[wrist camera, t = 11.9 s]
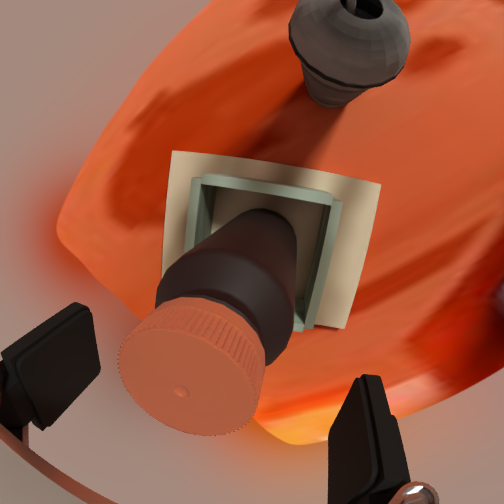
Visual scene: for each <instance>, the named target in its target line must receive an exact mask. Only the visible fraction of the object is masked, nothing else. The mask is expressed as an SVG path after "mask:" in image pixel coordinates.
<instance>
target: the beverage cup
mask: <svg viewBox="0 0 504 504" xmlns="http://www.w3.org/2000/svg"><path fill="white" fill-rule="evenodd" d="M288 25H289V40H290V43H291V45H292V47H293V50H294V52H295V54H296V55H297V57H298V58H299V59H300V61H301V66H302V71H303V76H304V80H305V85H306V87H307V90H308V93H309V95H310V97H311V98H312V99H313V100H314V101H315V102H316V103H318V104H319V105H321V106H324V107H326V108H338V107H342V106H343V105H345V104H347V103H349V102H351V101H352V100H353V99H355V98H356V97H358V96H359V95H361V94H362V93H363V92H365V91H366V90H368V89H370V88H373V87H379V86H382V85H384V84H386V83H388V82H389V81H391V80H393V79H395V78H396V76H397V75H398V74H399V73H400V71H401V70H402V69H403V68H404V64H405V61H406V59H407V56H408V52H409V47H410V43H411V39H410V32H409V27H408V23H407V20H406V18H405V16H404V15H403V13H402V11H401V9H400V8H399V6H398V5H397V4H396V3H395V2H394V1H393V0H299V1H298V3H297V5H296V8H295V10H294V12H293V15H292V17H291V19H290V22H289V24H288Z"/></svg>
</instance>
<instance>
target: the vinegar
mask: <svg viewBox="0 0 504 504" xmlns="http://www.w3.org/2000/svg"><path fill="white" fill-rule="evenodd" d="M296 262H297V238H296V235H295V232H294V230H293V227H292V226H291V224H290V223H289V222H288V221H287V219H286V218H285V217H283V216H282V215H280V214H279V213H277V212H276V211H272V210H269V209H265V208H256V209H250V210H248V211H245V212H242V213H241V214H239V215H238V216H236V217H235V218H234V219H232V220H231V221H229V222H228V223H226V224H225V225H224V226H222V227H221V228H219V229H218V230H217V231H215V232H214V233H213V234H211V235H210V236H208V237H207V238H206V239H204V240H203V241H201V242H200V243H199V244H197V245H196V246H195V247H193V248H192V249H191V250H189V251H188V252H186V253H185V254H184V255H182V256H181V257H180V258H179V259H178V260H177V261H176V262H174V263H173V264H172V265H171V266H170V267H169V268H168V269H167V270H166V272H165V274H164V275H163V277H162V279H161V281H160V283H159V285H158V287H157V294H156V303H155V310H154V311H152V312H151V313H150V314H149V315H148V316H147V317H146V318H145V319H144V320H143V321H142V322H141V323H140V324H139V325H138V326H137V328H135V329H134V330H133V331H132V332H131V333H130V334H129V335H128V336H127V337H126V338H125V339H124V341H123V343H122V345H121V346H120V348H121V349H120V350H119V352H120V353H119V354H118V356H119V358H118V360H119V362H118V365H119V367H118V369H119V373H120V374H121V378H122V380H123V382H124V385H125V388H126V389H127V391H128V392H129V393H130V395H131V396H132V397H133V399H134V400H135V402H136V403H137V404H138V405H139V406H140V407H142V408H143V409H144V410H145V411H146V412H147V413H148V414H149V415H151V416H152V417H154V418H155V419H157V420H158V421H160V422H162V423H163V424H165V425H167V426H169V427H172V428H174V429H177V430H180V431H182V432H185V433H190V434H194V435H195V434H196V435H202V436H212V435H215V436H216V435H223V434H226V433H230V432H232V431H233V432H234V431H235V430H239V428H240V427H243V424H244V425H246V422H249V420H250V419H252V415H254V413H255V412H256V408H257V405H258V400H259V395H260V391H261V386H262V381H263V377H264V372H265V367H266V366H268V365H270V364H272V363H273V362H274V361H275V359H276V358H277V357H278V356H279V355H280V354H281V353H282V352H283V351H284V350H285V348H286V346H287V344H288V341H289V339H290V336H291V334H292V331H293V328H294V311H295V289H296Z"/></svg>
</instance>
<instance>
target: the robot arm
mask: <svg viewBox="0 0 504 504" xmlns="http://www.w3.org/2000/svg"><path fill="white" fill-rule="evenodd" d="M1 355H2V358H3V360H2V361H0V504H117V503H115V502H113V501H111V500H109V499H107V498H105V497H103V496H101V495H100V494H98V493H96V492H94V491H92V490H91V489H89V488H87V487H85V486H84V485H82V484H80V483H78V482H77V481H75V480H74V479H72V478H70V477H69V476H67V475H66V474H64V473H63V472H61V471H60V470H58V469H57V468H55V467H54V466H52V465H51V464H49V463H48V462H47V461H45V460H44V459H43V458H41V457H40V456H38V455H37V454H36V453H35V452H33V451H32V450H31V449H30V448H29V440H28V438H29V437H28V423H29V422H30V421H32V423H33V424H34V425H35V426H36V427H38V428H39V429H40V430H42V431H43V430H44V429H45V428H46V427H49V426H51V425H52V424H53V423H54V422H55V421H56V420H57V419H58V418H59V417H60V416H61V414H62V413H63V412H64V411H65V410H66V409H67V408H68V407H69V406H70V405H71V404H72V402H73V401H74V400H75V399H76V398H77V397H78V396H79V395H80V394H81V393H82V392H83V391H84V390H85V388H86V387H87V386H88V385H89V384H90V383H91V382H92V381H93V380H94V379H95V378H96V377H97V376H98V375H99V373H100V370H101V366H100V361H99V355H98V350H97V344H96V338H95V331H94V324H93V316H92V313H91V312H90V309H89V308H88V307H87V306H85V305H82V304H80V303H77V302H74V303H72V304H70V305H69V306H67V307H66V308H64V309H63V310H61V311H60V312H58V313H57V314H55V315H54V316H52V317H51V318H49V319H48V320H46V321H45V322H43V323H42V324H40V325H39V326H37V327H36V328H34V329H33V330H32V331H30V332H29V333H27V334H26V335H24V336H23V337H21V338H20V339H19V340H17V341H16V342H14V343H13V344H12V345H10V346H9V347H7V348H6V349H5V350H3V351H2V352H1ZM328 504H439V497H438V493H437V492H436V491H435V489H434V488H433V487H432V486H430V485H429V484H426V483H424V482H417V481H416V482H411V480H410V475H409V470H408V466H407V462H406V457H405V452H404V448H403V443H402V440H401V435H400V431H399V427H398V423H397V420H396V418H395V416H394V415H391V413H390V409H389V405H388V401H387V398H386V394H385V390H384V387H383V383H382V380H381V377H380V376H378V375H368V374H363V375H362V376H361V377H360V378H356V379H355V380H354V382H353V384H352V387H351V389H350V391H349V393H348V395H347V397H346V399H345V401H344V403H343V405H342V407H341V409H340V411H339V413H338V415H337V417H336V419H335V421H334V423H333V424H332V426H331V428H330V431H329V435H328Z"/></svg>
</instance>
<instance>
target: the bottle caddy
mask: <svg viewBox="0 0 504 504" xmlns="http://www.w3.org/2000/svg"><path fill="white" fill-rule="evenodd" d="M380 188H381V184H377V183H373V182H369V181H365V180H360V179H356V178H352V177H347V176H343V175H338V174H333V173H328V172H324V171H319V170H313V169H308V168H303V167H297V166H291V165H286V164H280V163H273V162H267V161H260V160H253V159H246V158H239V157H231V156H222V155H213V154H204V153H193V152H182V151H172V157H171V165H170V173H169V182H168V191H167V202H166V213H165V225H164V239H163V256H162V277H163V275H164V274H165V272H166V270H167V269H168V268H169V267H170V266H171V265H172V264H173V263H174V262H176V261H177V260H178V259H179V258H180V257H181V256H182V255H184V254H185V253H186V252H188V251H189V250H191V249H192V248H193V247H195V246H196V245H197V244H199V243H200V242H201V241H203V240H204V239H206V238H207V237H208V236H210V235H211V234H213V233H214V232H215V231H217V230H218V229H219V228H221V227H222V226H224V225H225V224H226V223H228V222H229V221H231V220H232V219H234V218H235V217H236V216H238V215H239V214H241V213H242V212H245V211H248V210H250V209H256V208H265V209H269V210H272V211H276V212H277V213H279V214H280V215H282V216H283V217H285V218H286V219H287V221H288V222H289V223H290V224H291V226H292V227H293V230H294V232H295V235H296V238H297V262H296V289H295V311H294V328H293V331H296V332H303V329H309V330H313V327H314V324H317V325H323V326H329V327H336V328H342V329H344V328H345V325H346V322H347V319H348V316H349V313H350V310H351V306H352V303H353V300H354V297H355V293H356V290H357V286H358V283H359V279H360V275H361V272H362V268H363V264H364V260H365V257H366V253H367V249H368V244H369V240H370V236H371V232H372V227H373V223H374V218H375V213H376V208H377V203H378V198H379V193H380Z"/></svg>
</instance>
